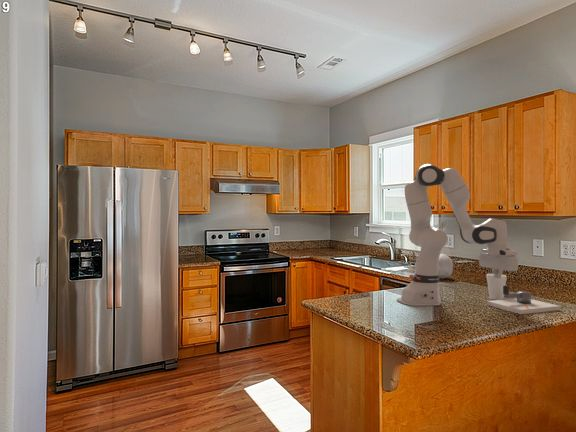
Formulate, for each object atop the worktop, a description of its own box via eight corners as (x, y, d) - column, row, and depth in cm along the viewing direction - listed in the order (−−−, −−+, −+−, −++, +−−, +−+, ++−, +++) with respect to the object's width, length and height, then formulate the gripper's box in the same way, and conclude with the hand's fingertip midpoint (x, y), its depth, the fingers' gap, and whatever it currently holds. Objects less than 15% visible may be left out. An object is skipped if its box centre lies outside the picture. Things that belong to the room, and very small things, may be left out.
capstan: (522, 300, 186) (523, 283, 185) (534, 303, 180) (534, 285, 180) (498, 302, 180) (498, 284, 180) (509, 305, 175) (509, 287, 175)
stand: (519, 314, 167) (520, 309, 167) (487, 304, 185) (487, 300, 185) (559, 310, 176) (560, 305, 176) (525, 301, 193) (525, 297, 193)
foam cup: (495, 301, 192) (496, 276, 192) (482, 297, 201) (482, 274, 201) (510, 300, 195) (510, 276, 195) (496, 296, 204) (496, 273, 204)
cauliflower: (426, 264, 284) (428, 241, 272) (456, 279, 267) (460, 256, 255) (409, 277, 274) (411, 254, 263) (439, 293, 257) (443, 270, 245)
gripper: (475, 248, 192) (475, 275, 192) (510, 252, 172) (510, 281, 172) (484, 248, 194) (485, 274, 194) (520, 252, 174) (520, 280, 174)
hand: (497, 277), depth 183 cm, fingers closed
